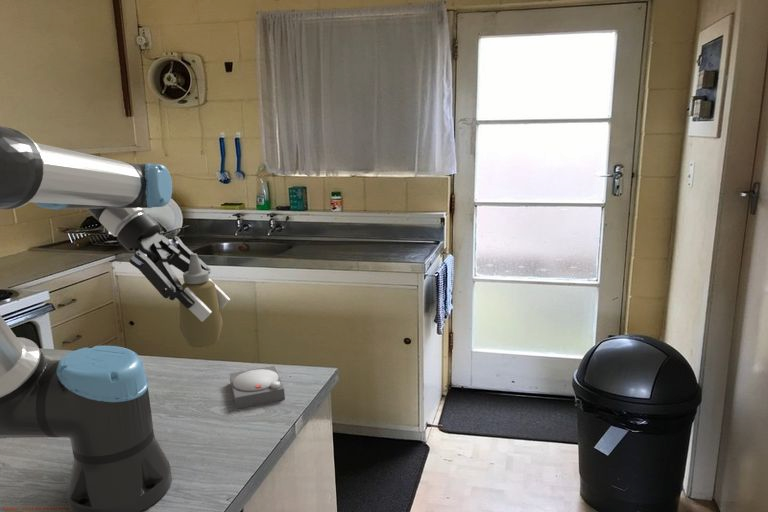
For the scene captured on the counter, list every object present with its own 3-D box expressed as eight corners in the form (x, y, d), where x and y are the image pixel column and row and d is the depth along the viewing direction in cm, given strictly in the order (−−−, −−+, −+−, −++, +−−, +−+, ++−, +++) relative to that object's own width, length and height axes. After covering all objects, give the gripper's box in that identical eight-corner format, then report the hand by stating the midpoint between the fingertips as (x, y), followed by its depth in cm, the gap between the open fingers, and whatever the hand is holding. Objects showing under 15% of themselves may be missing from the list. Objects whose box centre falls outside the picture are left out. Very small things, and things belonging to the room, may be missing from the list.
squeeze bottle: (231, 335, 115) (222, 249, 111) (213, 351, 108) (203, 260, 103) (193, 333, 117) (184, 248, 112) (173, 349, 109) (162, 259, 104)
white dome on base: (284, 399, 119) (283, 385, 119) (236, 408, 116) (234, 394, 115) (275, 375, 130) (274, 362, 130) (230, 383, 127) (229, 370, 126)
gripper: (151, 227, 119) (229, 305, 120) (85, 250, 101) (177, 342, 102) (171, 203, 117) (250, 282, 118) (106, 222, 99) (201, 316, 99)
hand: (216, 310), depth 110 cm, fingers closed on squeeze bottle, 6 cm apart
